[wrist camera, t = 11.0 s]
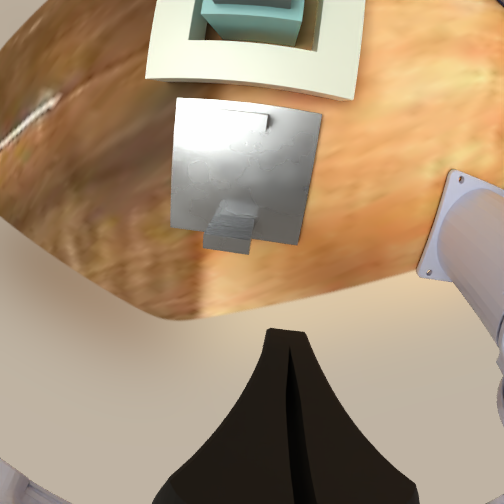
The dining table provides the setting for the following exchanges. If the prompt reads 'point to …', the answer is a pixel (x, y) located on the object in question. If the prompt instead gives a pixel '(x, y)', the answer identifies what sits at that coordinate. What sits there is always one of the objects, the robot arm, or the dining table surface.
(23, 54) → the dining table surface
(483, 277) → the robot arm
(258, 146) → the grey socket plate
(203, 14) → the plug
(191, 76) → the port
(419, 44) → the dining table surface
